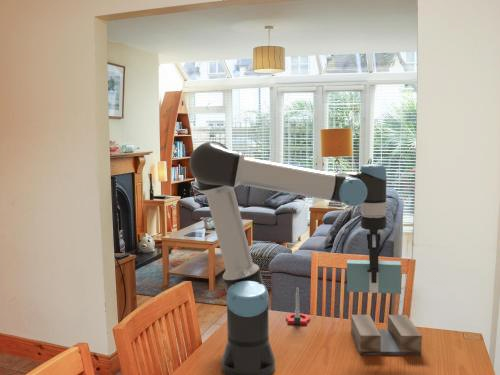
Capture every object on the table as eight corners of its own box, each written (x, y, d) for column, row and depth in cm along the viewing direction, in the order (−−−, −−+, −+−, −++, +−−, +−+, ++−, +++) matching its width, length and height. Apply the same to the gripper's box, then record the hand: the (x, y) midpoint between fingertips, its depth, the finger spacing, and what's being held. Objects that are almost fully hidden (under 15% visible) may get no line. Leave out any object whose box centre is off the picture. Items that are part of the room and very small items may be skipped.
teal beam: (400, 289, 149) (400, 261, 147) (401, 293, 145) (401, 264, 144) (347, 287, 152) (347, 259, 151) (347, 291, 148) (346, 263, 147)
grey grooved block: (360, 354, 143) (360, 335, 142) (351, 332, 159) (351, 314, 158) (421, 355, 142) (421, 335, 142) (405, 332, 158) (406, 314, 157)
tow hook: (286, 315, 175) (284, 324, 166) (287, 280, 174) (285, 288, 165) (310, 316, 174) (309, 326, 164) (310, 281, 173) (309, 289, 163)
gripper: (387, 221, 136) (387, 300, 139) (385, 210, 153) (384, 281, 156) (360, 220, 138) (361, 298, 141) (360, 210, 155) (361, 280, 158)
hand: (373, 289), depth 148 cm, fingers closed on teal beam, 4 cm apart
